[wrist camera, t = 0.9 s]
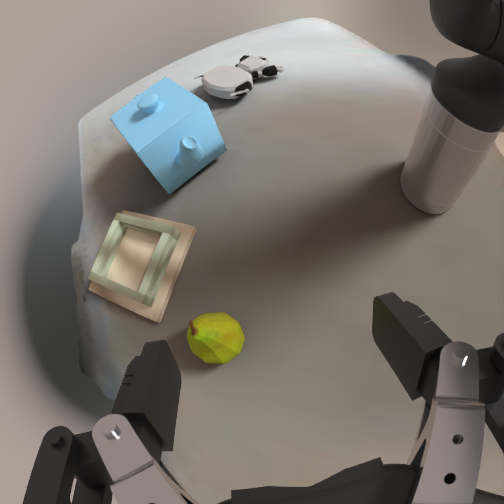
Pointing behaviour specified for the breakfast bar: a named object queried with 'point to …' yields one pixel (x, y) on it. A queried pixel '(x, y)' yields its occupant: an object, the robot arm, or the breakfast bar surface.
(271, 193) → the breakfast bar surface
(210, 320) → the fruit
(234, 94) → the robot toy
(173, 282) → the tray
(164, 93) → the teapot
